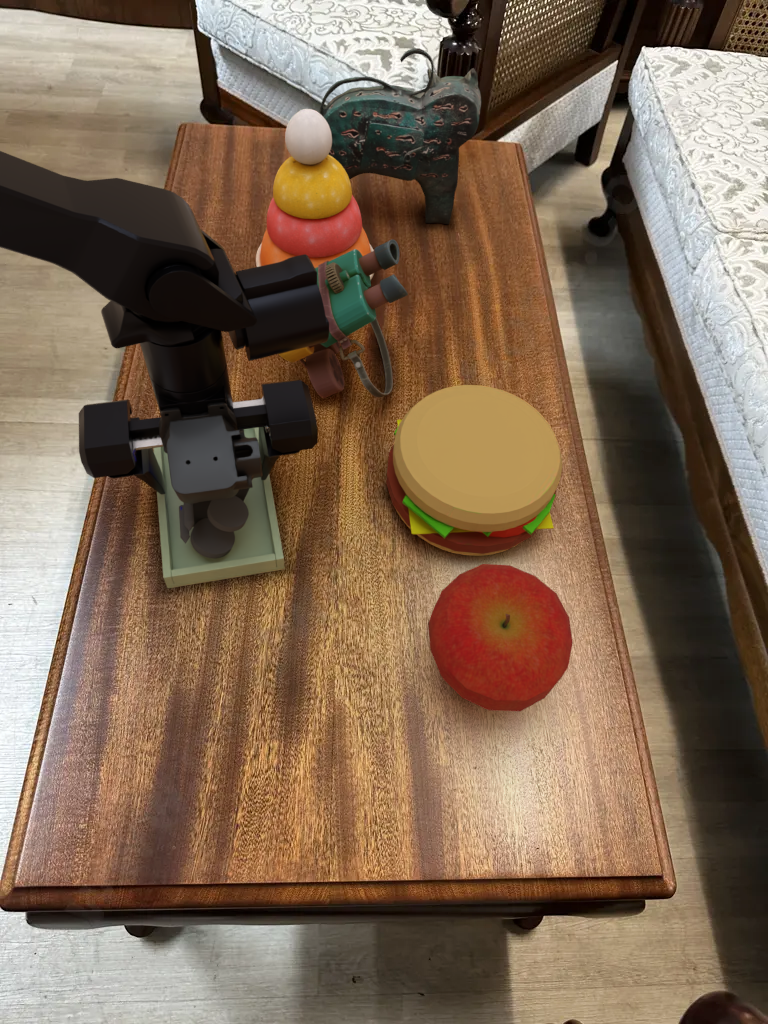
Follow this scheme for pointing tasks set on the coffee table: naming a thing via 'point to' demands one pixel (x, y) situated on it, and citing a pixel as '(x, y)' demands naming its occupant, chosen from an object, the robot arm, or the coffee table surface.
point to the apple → (500, 637)
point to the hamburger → (474, 470)
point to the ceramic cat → (406, 132)
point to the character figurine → (213, 523)
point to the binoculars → (350, 317)
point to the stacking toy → (311, 200)
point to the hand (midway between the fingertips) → (213, 483)
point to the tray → (252, 543)
